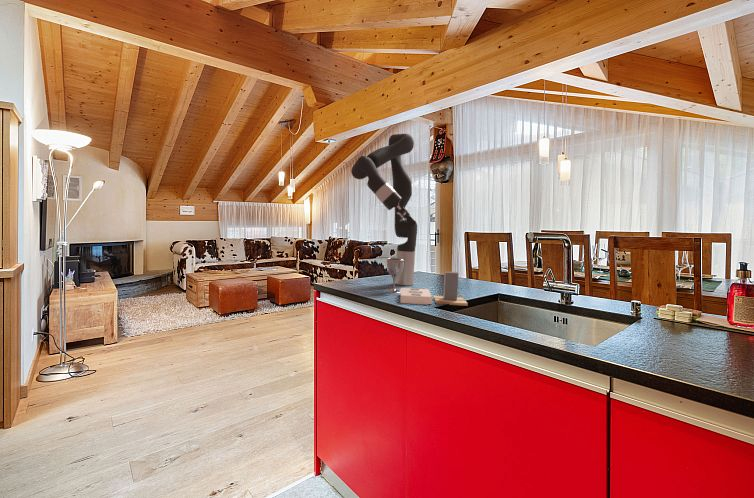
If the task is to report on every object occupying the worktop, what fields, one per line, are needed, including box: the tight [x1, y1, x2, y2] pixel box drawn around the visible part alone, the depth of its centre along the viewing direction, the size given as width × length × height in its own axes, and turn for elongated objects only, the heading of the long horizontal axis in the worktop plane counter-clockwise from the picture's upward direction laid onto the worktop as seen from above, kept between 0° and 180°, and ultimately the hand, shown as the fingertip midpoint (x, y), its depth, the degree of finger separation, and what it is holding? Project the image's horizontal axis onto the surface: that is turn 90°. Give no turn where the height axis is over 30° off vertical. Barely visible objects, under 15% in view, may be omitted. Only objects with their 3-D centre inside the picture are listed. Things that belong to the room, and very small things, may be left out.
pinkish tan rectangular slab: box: [400, 287, 433, 306], centre depth 153 cm, size 18×12×3 cm, turn 176°
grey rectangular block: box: [442, 271, 459, 301], centre depth 150 cm, size 4×5×11 cm
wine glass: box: [386, 257, 404, 294], centre depth 169 cm, size 8×8×15 cm
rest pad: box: [433, 295, 469, 307], centre depth 151 cm, size 13×12×1 cm
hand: (414, 224), depth 157 cm, fingers open, 8 cm apart
